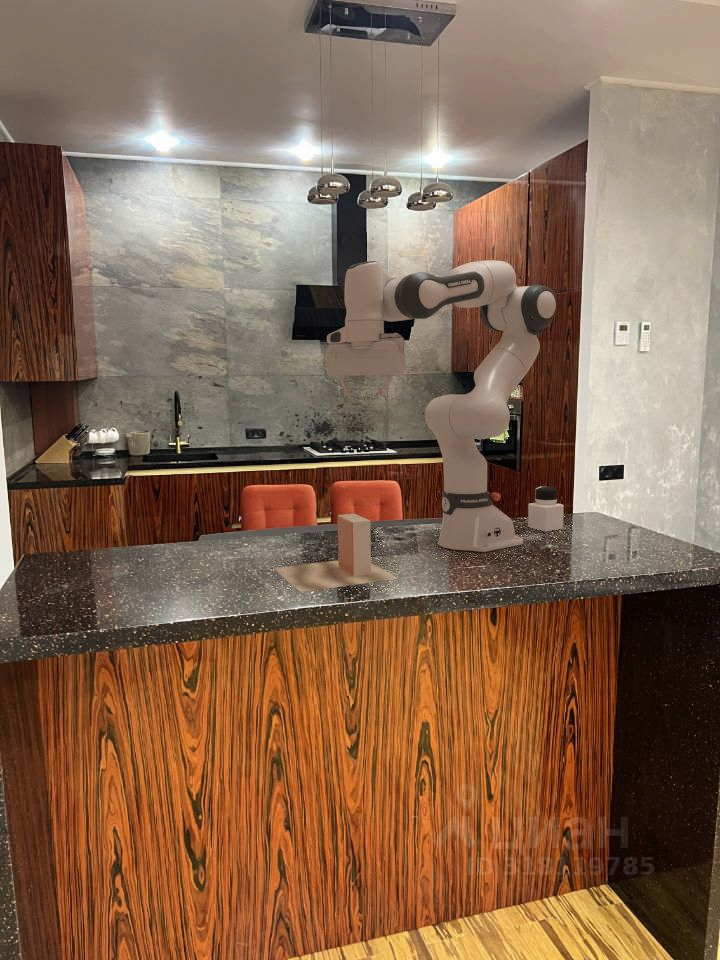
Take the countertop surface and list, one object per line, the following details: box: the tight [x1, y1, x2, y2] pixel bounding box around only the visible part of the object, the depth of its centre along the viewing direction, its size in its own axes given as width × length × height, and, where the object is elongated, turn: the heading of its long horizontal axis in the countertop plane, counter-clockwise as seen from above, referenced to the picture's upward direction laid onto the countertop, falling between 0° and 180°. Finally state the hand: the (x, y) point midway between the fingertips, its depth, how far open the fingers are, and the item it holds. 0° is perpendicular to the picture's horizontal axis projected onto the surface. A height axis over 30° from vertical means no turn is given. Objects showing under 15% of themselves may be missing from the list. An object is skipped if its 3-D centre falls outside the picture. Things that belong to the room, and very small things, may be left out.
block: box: [337, 513, 372, 577], centre depth 156 cm, size 4×9×12 cm, turn 23°
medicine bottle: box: [527, 486, 565, 533], centre depth 201 cm, size 7×7×12 cm
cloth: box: [273, 560, 399, 593], centre depth 155 cm, size 22×20×1 cm
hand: (365, 395), depth 163 cm, fingers open, 8 cm apart
